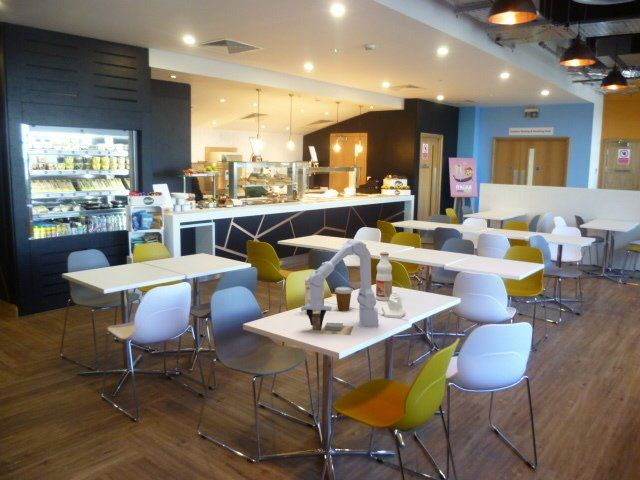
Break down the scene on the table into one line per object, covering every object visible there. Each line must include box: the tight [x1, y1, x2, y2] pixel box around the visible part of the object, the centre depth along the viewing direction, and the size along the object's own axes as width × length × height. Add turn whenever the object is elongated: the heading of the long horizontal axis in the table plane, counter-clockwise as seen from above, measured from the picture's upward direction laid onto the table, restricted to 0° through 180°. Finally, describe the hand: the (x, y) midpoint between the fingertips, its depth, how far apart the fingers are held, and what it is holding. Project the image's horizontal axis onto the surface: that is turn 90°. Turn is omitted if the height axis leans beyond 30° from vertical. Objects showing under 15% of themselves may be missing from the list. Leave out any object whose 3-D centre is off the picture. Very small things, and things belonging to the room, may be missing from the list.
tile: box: [324, 322, 344, 331], centre depth 260 cm, size 8×2×6 cm
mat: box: [320, 325, 355, 336], centre depth 259 cm, size 14×14×1 cm
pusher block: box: [311, 313, 323, 332], centre depth 259 cm, size 4×4×7 cm
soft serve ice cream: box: [381, 290, 407, 319], centre depth 284 cm, size 12×15×14 cm
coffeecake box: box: [304, 275, 325, 315], centre depth 291 cm, size 15×7×20 cm, turn 164°
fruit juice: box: [375, 252, 393, 302], centre depth 316 cm, size 9×9×28 cm
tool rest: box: [310, 328, 323, 333], centre depth 258 cm, size 5×5×1 cm
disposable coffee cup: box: [334, 286, 353, 312], centre depth 295 cm, size 10×10×12 cm
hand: (316, 325), depth 258 cm, fingers closed on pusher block, 4 cm apart
